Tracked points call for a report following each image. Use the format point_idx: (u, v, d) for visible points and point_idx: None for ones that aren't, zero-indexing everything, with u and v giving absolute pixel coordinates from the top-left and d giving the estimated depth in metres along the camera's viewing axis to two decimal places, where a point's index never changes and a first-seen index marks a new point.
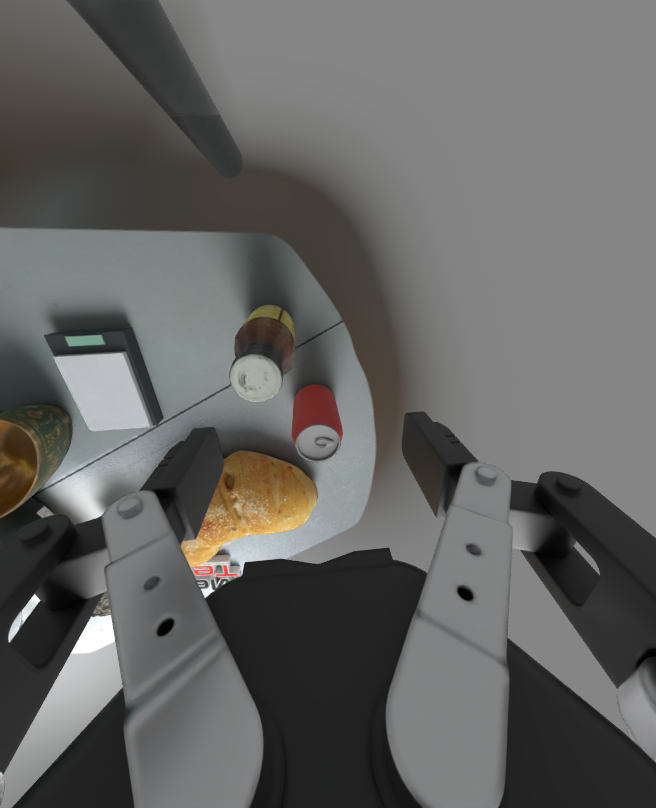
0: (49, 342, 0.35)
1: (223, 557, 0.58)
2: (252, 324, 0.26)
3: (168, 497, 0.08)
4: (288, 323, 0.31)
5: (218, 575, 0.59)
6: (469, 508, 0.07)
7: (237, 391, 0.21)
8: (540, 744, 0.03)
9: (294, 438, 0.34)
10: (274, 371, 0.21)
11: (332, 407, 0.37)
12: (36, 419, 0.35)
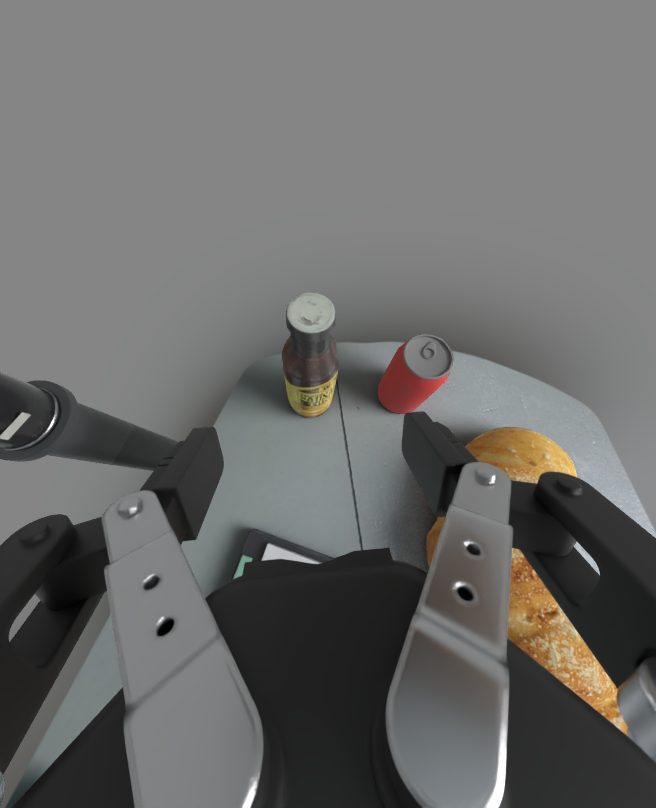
0: None
1: None
2: (282, 351, 0.28)
3: (168, 497, 0.08)
4: None
5: None
6: (469, 508, 0.07)
7: (315, 330, 0.22)
8: (540, 744, 0.03)
9: (415, 380, 0.30)
10: (311, 295, 0.23)
11: None
12: None
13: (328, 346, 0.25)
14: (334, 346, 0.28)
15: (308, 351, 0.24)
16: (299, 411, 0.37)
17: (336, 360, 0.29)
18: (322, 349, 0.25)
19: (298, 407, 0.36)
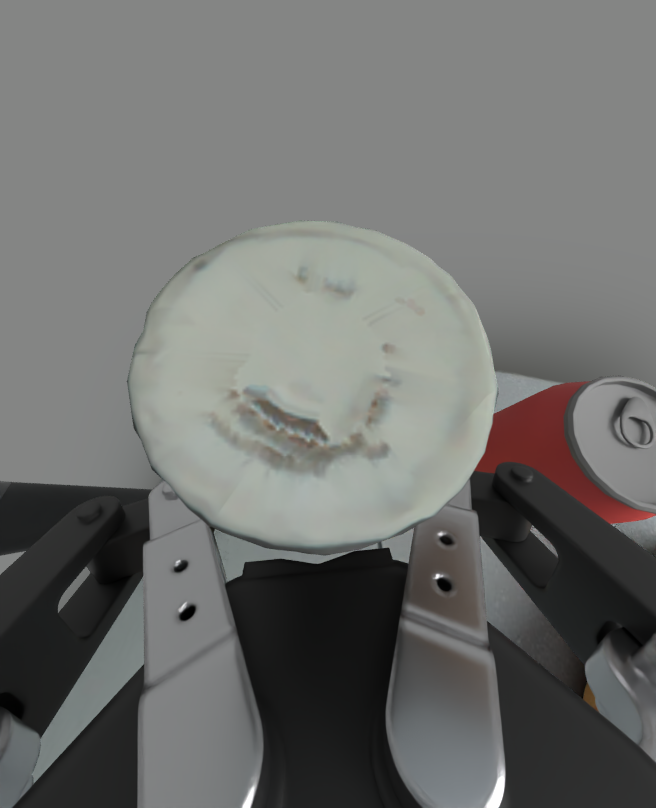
0: None
1: None
2: None
3: None
4: None
5: None
6: None
7: (360, 525, 0.02)
8: (540, 744, 0.03)
9: (605, 508, 0.11)
10: (316, 237, 0.03)
11: None
12: None
13: None
14: None
15: None
16: None
17: None
18: None
19: None
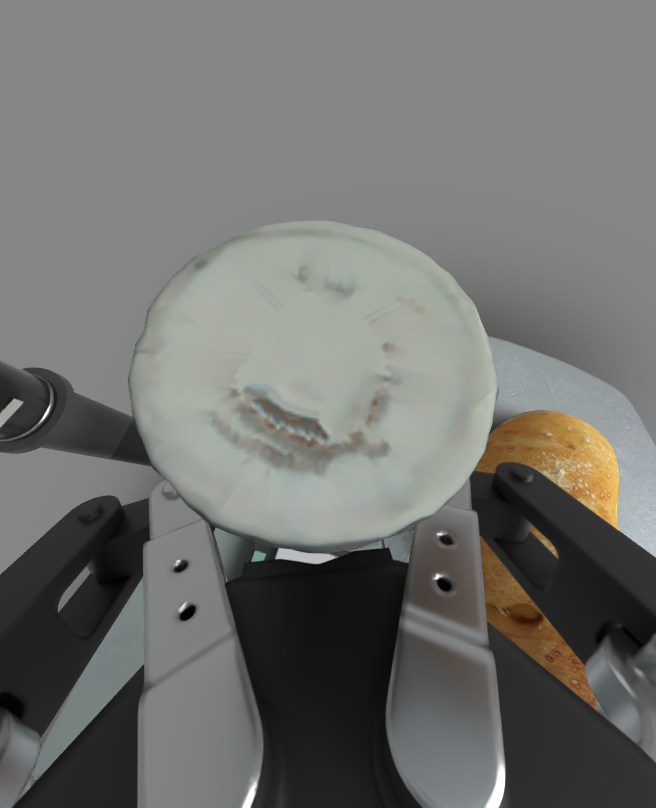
0: None
1: None
2: None
3: None
4: None
5: None
6: None
7: (360, 523, 0.02)
8: (540, 744, 0.03)
9: None
10: (316, 236, 0.03)
11: None
12: None
13: None
14: None
15: None
16: None
17: None
18: None
19: None
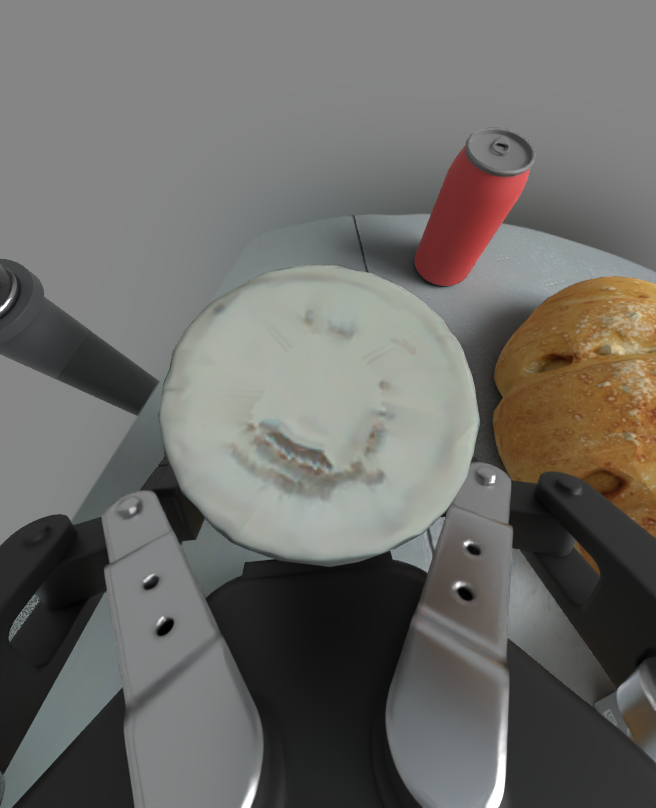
0: None
1: None
2: None
3: (168, 497, 0.08)
4: None
5: None
6: (469, 508, 0.07)
7: (359, 541, 0.03)
8: (540, 744, 0.03)
9: (484, 183, 0.22)
10: (321, 281, 0.04)
11: None
12: None
13: None
14: None
15: None
16: None
17: None
18: None
19: None
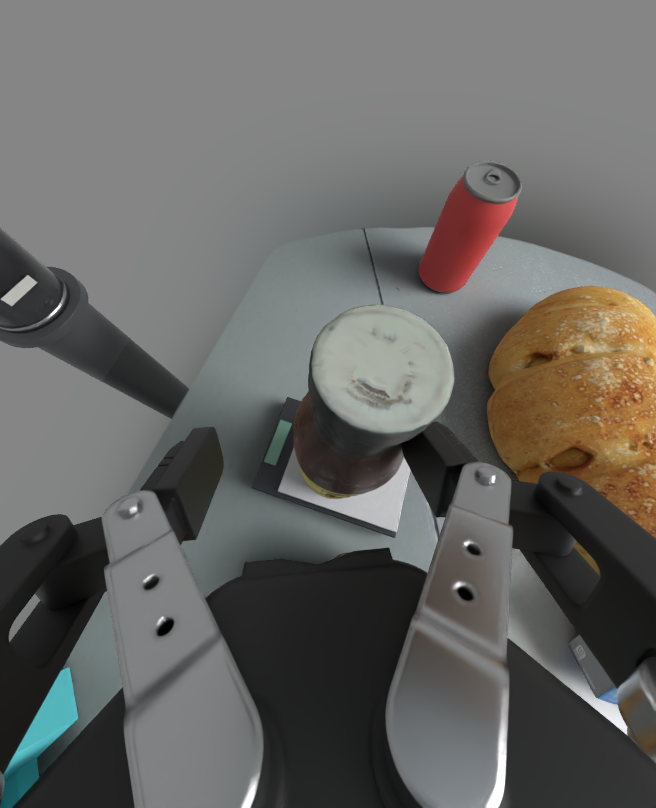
0: (261, 487, 0.26)
1: None
2: (294, 422, 0.14)
3: (168, 497, 0.08)
4: None
5: None
6: (469, 508, 0.07)
7: (402, 425, 0.07)
8: (540, 744, 0.03)
9: (479, 209, 0.26)
10: (378, 314, 0.08)
11: None
12: (346, 553, 0.21)
13: None
14: None
15: (361, 451, 0.10)
16: (320, 494, 0.22)
17: None
18: None
19: (319, 493, 0.21)
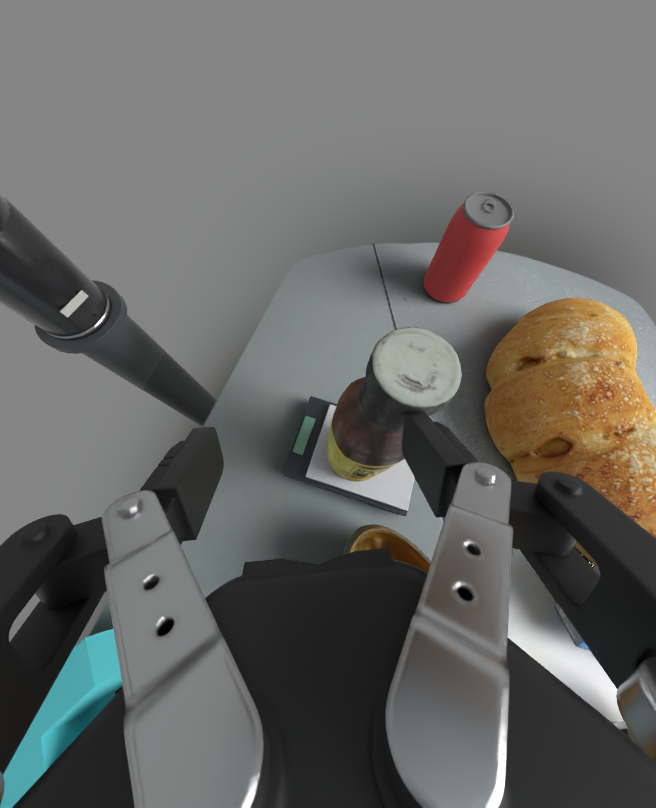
0: (290, 474, 0.30)
1: None
2: (337, 411, 0.18)
3: (168, 497, 0.08)
4: None
5: None
6: (469, 508, 0.07)
7: (431, 402, 0.11)
8: (540, 744, 0.03)
9: (476, 233, 0.31)
10: (412, 333, 0.12)
11: None
12: (367, 525, 0.25)
13: None
14: None
15: (396, 425, 0.14)
16: (344, 477, 0.27)
17: None
18: None
19: (345, 474, 0.25)
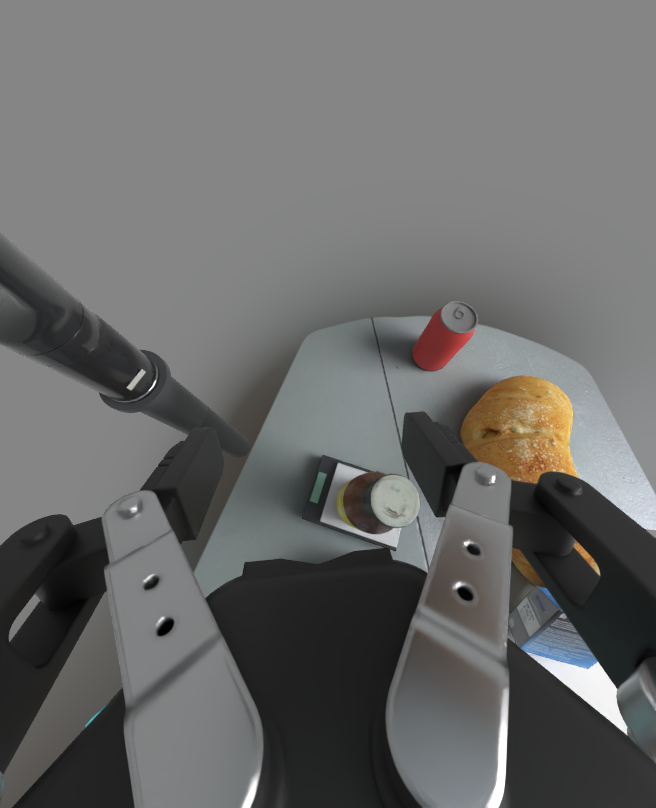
0: (308, 518, 0.40)
1: None
2: (347, 499, 0.28)
3: (168, 497, 0.08)
4: None
5: None
6: (469, 508, 0.07)
7: (402, 524, 0.21)
8: (540, 744, 0.03)
9: (450, 335, 0.40)
10: (393, 479, 0.22)
11: None
12: None
13: None
14: None
15: None
16: None
17: None
18: None
19: None
